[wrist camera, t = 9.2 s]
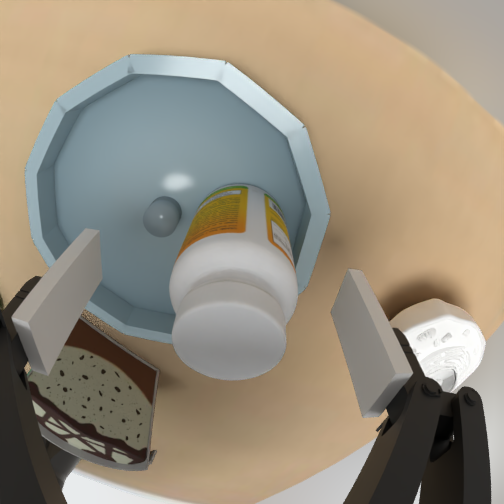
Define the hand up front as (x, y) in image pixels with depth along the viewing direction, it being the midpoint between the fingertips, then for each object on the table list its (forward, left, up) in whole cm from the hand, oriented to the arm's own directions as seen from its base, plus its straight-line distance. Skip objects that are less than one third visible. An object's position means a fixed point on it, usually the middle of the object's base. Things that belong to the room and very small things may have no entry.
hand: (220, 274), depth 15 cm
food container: (-10, -16, -6) cm, 19 cm away
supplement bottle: (+1, 0, -5) cm, 5 cm away
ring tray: (-4, 0, -6) cm, 7 cm away
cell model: (+17, -7, -6) cm, 19 cm away
